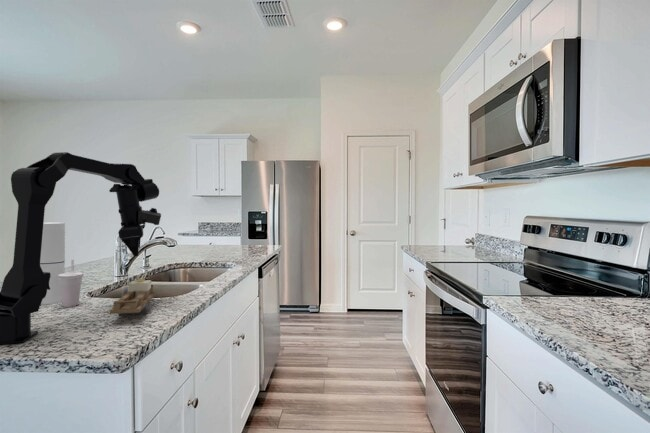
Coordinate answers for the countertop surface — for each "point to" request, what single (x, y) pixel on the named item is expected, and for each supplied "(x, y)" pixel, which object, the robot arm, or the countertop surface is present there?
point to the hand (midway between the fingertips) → (137, 251)
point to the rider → (139, 286)
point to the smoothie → (70, 286)
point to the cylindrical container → (53, 259)
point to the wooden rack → (134, 303)
